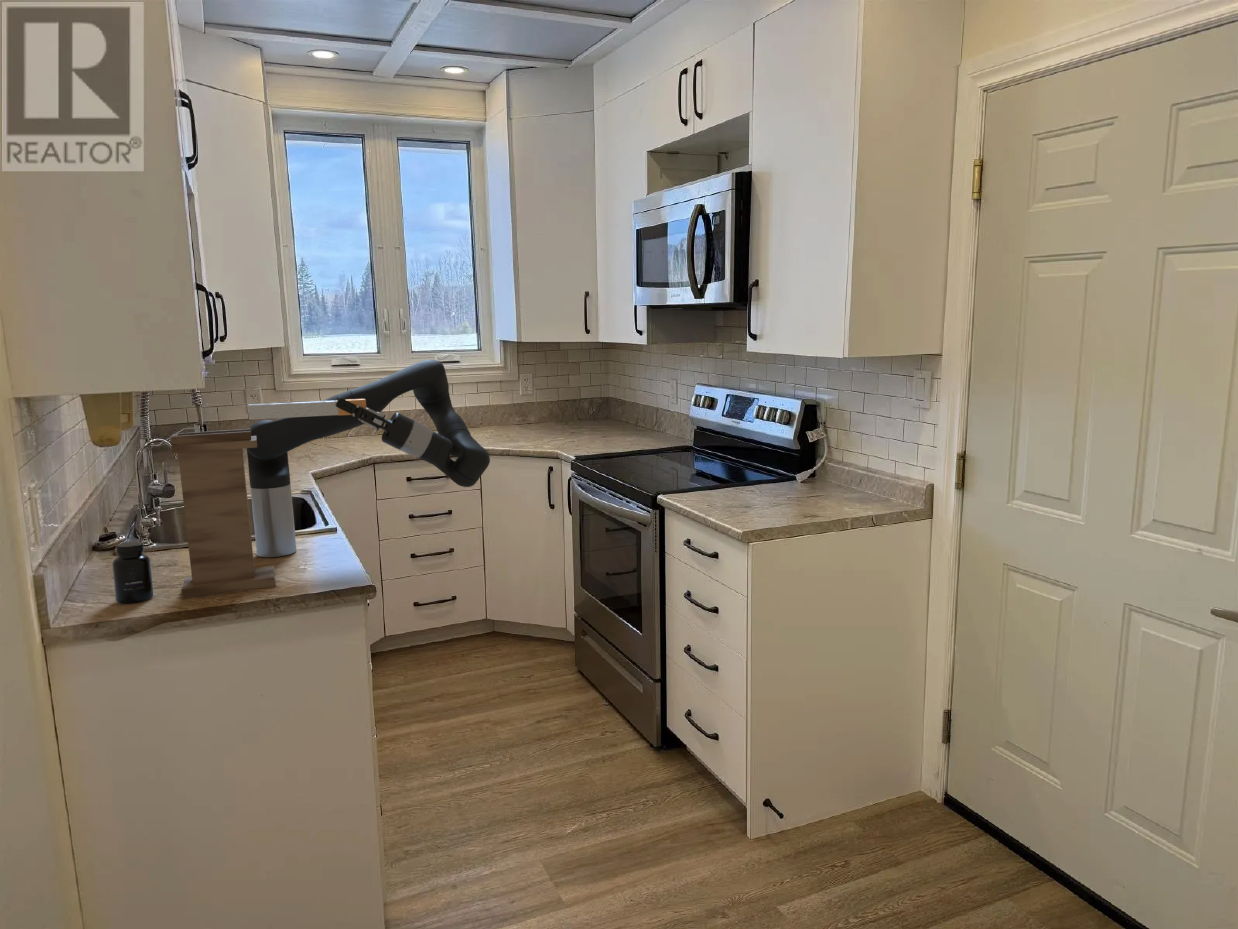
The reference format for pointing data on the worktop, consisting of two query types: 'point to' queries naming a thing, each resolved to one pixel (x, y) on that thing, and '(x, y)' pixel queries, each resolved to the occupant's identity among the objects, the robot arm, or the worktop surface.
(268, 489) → the robot arm
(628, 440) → the worktop surface
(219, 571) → the post
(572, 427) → the worktop surface
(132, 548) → the supplement bottle
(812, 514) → the worktop surface
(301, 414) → the grey and tan bar
